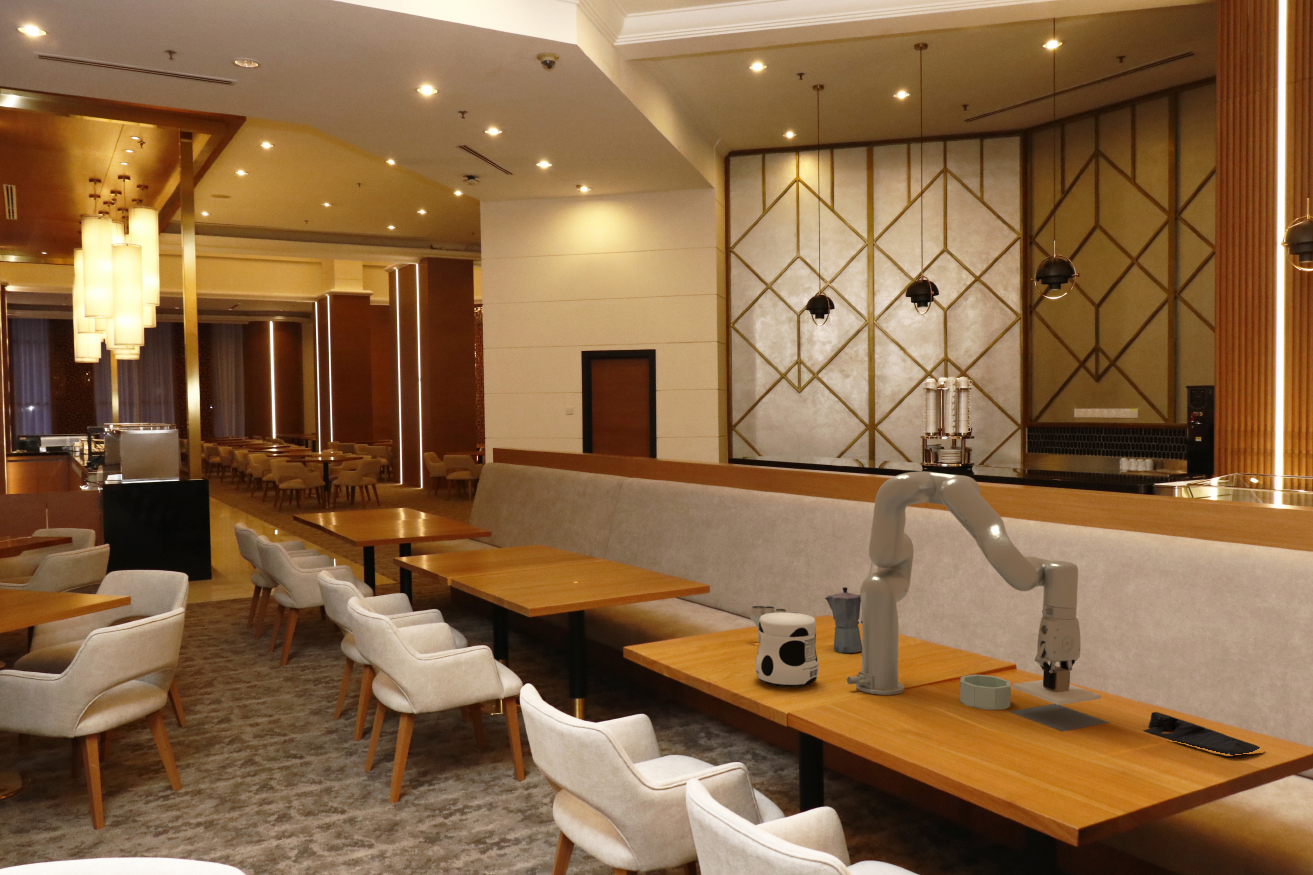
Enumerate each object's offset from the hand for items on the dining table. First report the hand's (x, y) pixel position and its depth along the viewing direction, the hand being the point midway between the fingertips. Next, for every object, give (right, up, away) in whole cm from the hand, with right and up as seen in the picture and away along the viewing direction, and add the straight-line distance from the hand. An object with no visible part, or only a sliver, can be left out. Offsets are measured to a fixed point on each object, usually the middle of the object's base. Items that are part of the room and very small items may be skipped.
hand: (1056, 686), depth 224 cm
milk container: (-62, -7, +30) cm, 69 cm away
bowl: (-13, -8, +11) cm, 19 cm away
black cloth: (+26, -9, -15) cm, 32 cm away
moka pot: (-37, -7, +66) cm, 76 cm away
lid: (0, -2, 0) cm, 2 cm away
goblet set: (-59, -7, +64) cm, 88 cm away
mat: (0, -8, 0) cm, 8 cm away
